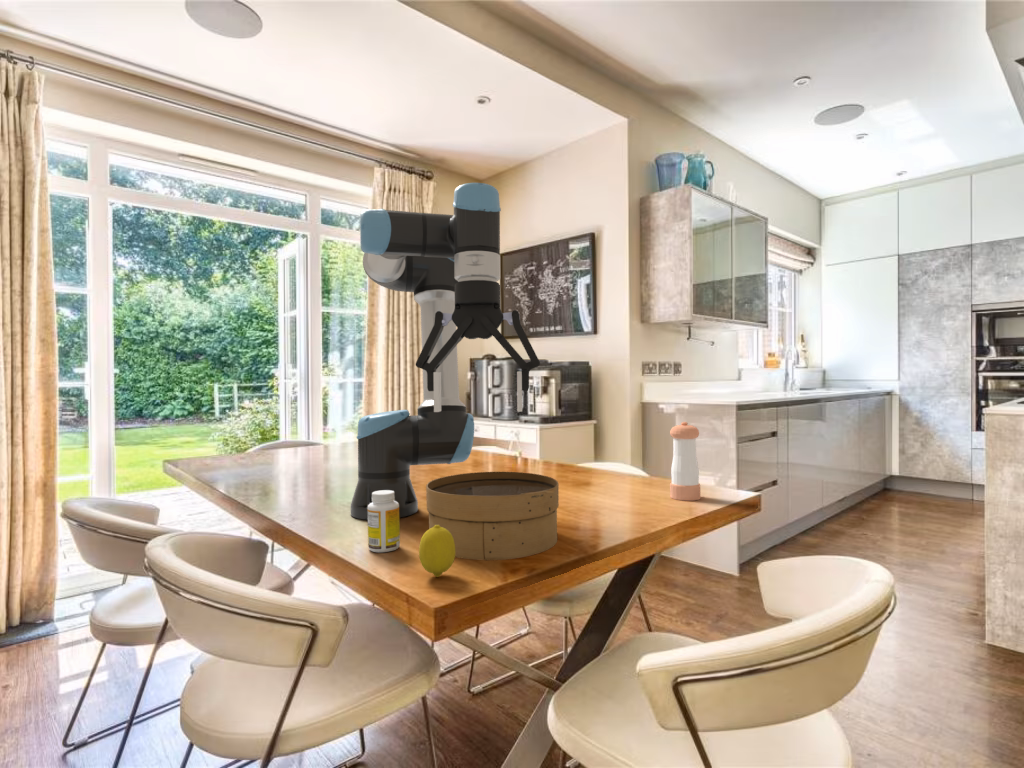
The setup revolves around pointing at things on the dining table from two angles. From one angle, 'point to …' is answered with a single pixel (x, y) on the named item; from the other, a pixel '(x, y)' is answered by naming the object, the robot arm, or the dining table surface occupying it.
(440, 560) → the lemon
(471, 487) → the steamer basket
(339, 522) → the dining table surface
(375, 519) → the supplement bottle
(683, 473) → the pepper shaker
